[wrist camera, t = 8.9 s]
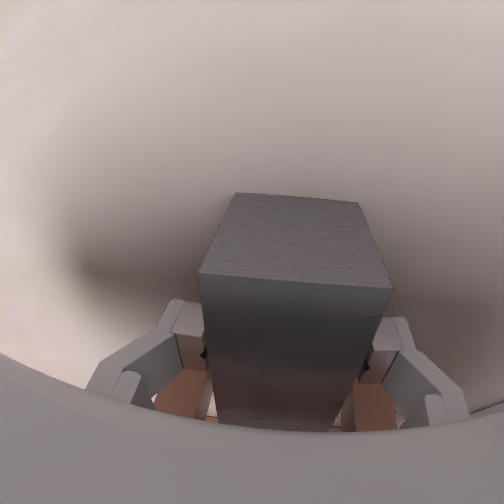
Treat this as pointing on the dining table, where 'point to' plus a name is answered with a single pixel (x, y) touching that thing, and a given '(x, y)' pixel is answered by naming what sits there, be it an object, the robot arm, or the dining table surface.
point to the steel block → (289, 309)
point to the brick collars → (352, 420)
